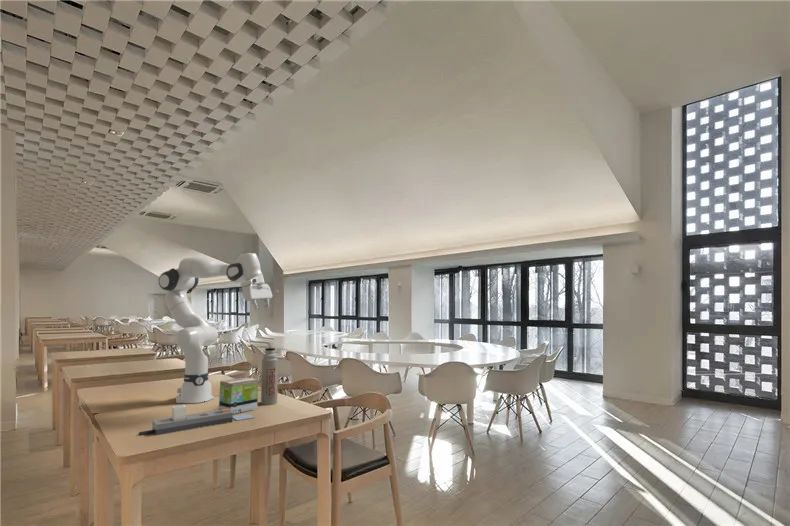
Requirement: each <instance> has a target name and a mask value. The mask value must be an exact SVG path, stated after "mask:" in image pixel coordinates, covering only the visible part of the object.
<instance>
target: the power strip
mask: <svg viewBox="0 0 790 526" xmlns="http://www.w3.org/2000/svg"><path fill="white" fill-rule="evenodd" d="M233 416H234V414H233V413H232V412H231V411H230V409H223V410H219V409H218V410H212V411H206V412H200V413H193V414H192V413H191V414H186V419H185V420H179V421H172V417H165V418H160V419H154V420H152V426H151V429H150V430H144V431H139V432H138V436H142V435H143V434H144V435H148V434H149V433H150V434H155V435H156V436H158V434H159V435H165V434H170V433H171V434H172V433H176V431H177V432H181V430H183V431H187V429H188V430H192V429H193V428H194V429H198V427H200V428H204V427H203V426H206V427H210V426H209V425H212V426H216V425H215V424H218V425H222V424H221V423H223V424H228V423H227V422H229V423H233V421H234V419H233ZM194 429H193V430H194ZM150 434H149V435H150Z"/></svg>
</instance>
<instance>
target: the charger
mask: <svg viewBox="0 0 790 526" xmlns="http://www.w3.org/2000/svg"><path fill="white" fill-rule="evenodd" d="M186 415H187V406H186V405H184V404H177V405H172V406H171V418H172V421H179V420H185V419H186Z"/></svg>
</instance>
